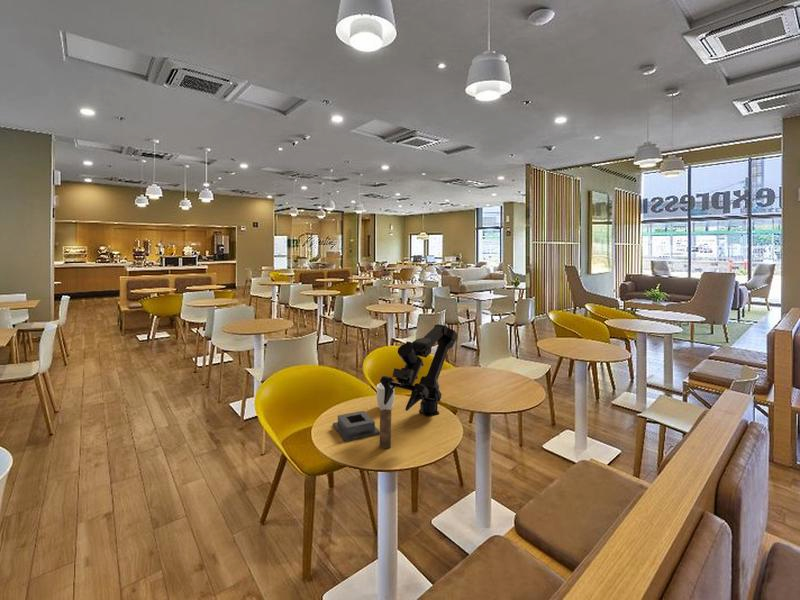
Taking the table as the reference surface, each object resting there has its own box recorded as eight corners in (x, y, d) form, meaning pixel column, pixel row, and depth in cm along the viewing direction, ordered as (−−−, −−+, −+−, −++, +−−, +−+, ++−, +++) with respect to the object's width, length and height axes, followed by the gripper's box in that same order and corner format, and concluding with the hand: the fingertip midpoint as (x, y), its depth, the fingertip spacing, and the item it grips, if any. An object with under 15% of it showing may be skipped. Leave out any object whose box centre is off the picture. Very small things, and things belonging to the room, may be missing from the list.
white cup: (386, 413, 174) (387, 390, 172) (372, 408, 179) (372, 386, 177) (398, 407, 180) (398, 385, 179) (384, 402, 185) (384, 381, 183)
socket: (365, 419, 168) (366, 408, 167) (379, 434, 155) (380, 422, 155) (332, 425, 162) (332, 414, 161) (344, 441, 149) (344, 430, 148)
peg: (387, 442, 149) (388, 408, 147) (392, 447, 146) (393, 413, 144) (377, 444, 148) (378, 410, 145) (382, 450, 144) (382, 415, 142)
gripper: (382, 355, 157) (365, 391, 149) (426, 364, 147) (410, 403, 140) (393, 369, 165) (377, 405, 157) (435, 378, 155) (420, 417, 147)
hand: (395, 407), depth 150 cm, fingers open, 9 cm apart
